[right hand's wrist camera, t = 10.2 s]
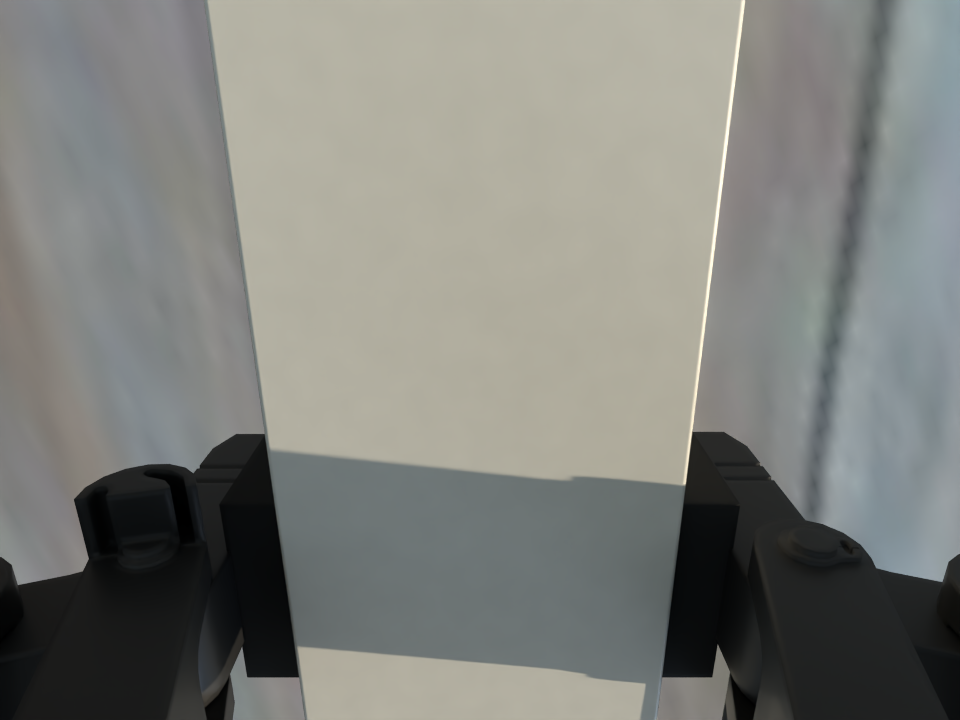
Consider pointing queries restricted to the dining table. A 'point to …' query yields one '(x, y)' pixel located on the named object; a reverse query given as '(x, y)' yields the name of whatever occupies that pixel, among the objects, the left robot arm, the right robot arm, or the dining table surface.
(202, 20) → the dining table surface
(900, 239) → the dining table surface
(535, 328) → the beam
